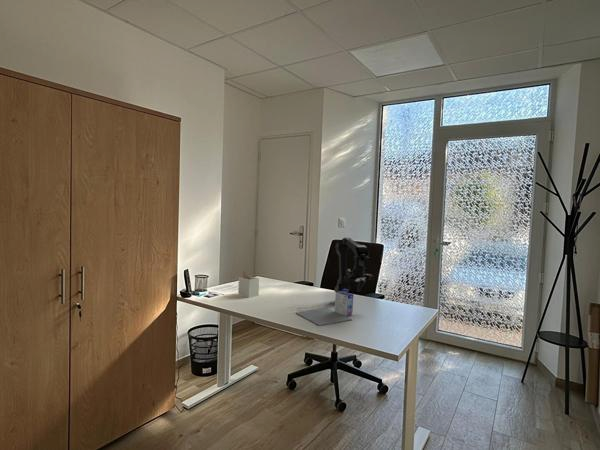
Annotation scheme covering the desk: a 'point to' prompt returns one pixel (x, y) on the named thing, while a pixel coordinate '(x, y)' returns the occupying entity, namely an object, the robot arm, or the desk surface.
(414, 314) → the desk surface
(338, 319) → the mat
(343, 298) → the ink cartridge box
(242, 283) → the white box
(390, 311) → the desk surface
